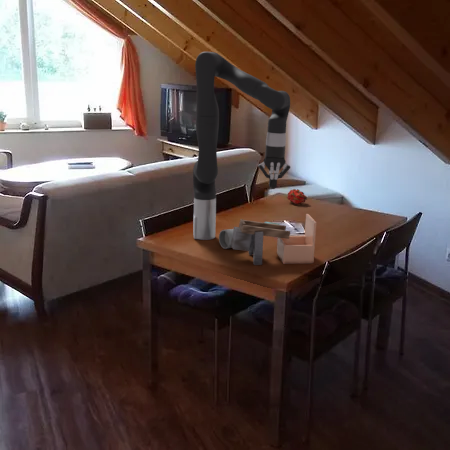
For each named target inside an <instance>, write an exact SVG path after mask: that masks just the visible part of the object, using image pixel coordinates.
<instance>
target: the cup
mask: <svg viewBox="0 0 450 450" xmlns="http://www.w3.org/2000/svg"><path fill="white" fill-rule="evenodd" d="M316 233H317V221H315V219H314V218H313V217H312V216H311V215H310V214H309V213H306V214H305V226H304V235H290V236H289V239H285V238H278V237H277V243H276V254H277V256H278V258H279V259H280V261H281V263H282V264H283V265H284V264H286V265H287V264H289V265H291V264H292V265H293V264H314V261H315V260H314V259H315V246H316V236H317V235H316Z"/></svg>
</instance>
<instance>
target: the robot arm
mask: <svg viewBox="0 0 450 450" xmlns="http://www.w3.org/2000/svg"><path fill="white" fill-rule="evenodd" d="M194 68H195V70H194V71H195V80H196V103H195V104H196V109H195V110H196V111H195V130H196V131H195V132H196V139H197V145H198V155H197V160H196V161H195V163H194V165H193V169H192V183H193V186H192V189H193V216H192V217H193V219H192V220H193V221H192V224H193V225H192V226H193V227H192V228H193V229H192V230H193V232H192V233H193V235H192V236H193V239H194V240H202V241H208V240H213V239H215V238H216V225H217V223H216V219H217V217H216V216H217V191H216V179H217V177H218V174H219V173H218V172H219V170H218V155H217V148H218V147H217V146H218V141H219V140H218V138H219V127H220V108H219V104H218V102H217V101H218V100H217V98H216V94H215V77H217V78H220V79H222V80H224V81H227V82H229V83H230V84H232V85H233V86H234V87H236V88H237V89H238V90H240V92H242V93H244V94H246V95H248V97H249V96H250V97H251V98H252V99H255V100H257V101H259V102H260V103H261V104H263V105H264V106H265V107H267V108H269V109H270V110H272V111H271V115H270V117H269V118H268V120H267V121H268V122H267V131H266V132H267V133H266V137H265V138H266V139H265V152H264V153H265V154H264V159H263V162H261V163H258V164H257V166H258V168H259V170H261V172H262V174H263V175H264V177H265V178H267V179H268V186H269V189H271V190H275V189H276V188H277V187H278V186H277V185H278V179H282V178H283V177H284V176H285V175H286V174H287V172H288V171H289V170H290V169H291V166H290V165H289V164H288V163H286V158H285V157H286V145H287V120H288V117H289V112H290V108H291V97H290V94H289V93H288V92H287V91H284V90H276V89H274V88H273V87H270V86H269V84H268V83H266V82H265V81H264V80H261V79H259V78H258V77H255V76H253V75H251V74H250V73H247V72H245V71H244V70H241V69H240V68H239V67H236V66H235V65H233V64H232V63H231V62H230V61H228V60H227V59H225V58H224V57H223V56H222V55H220V54H219V53H217V52H214V51H202V52H200V53H199V54H198V55H197V56H196V60H195V66H194ZM265 166H266V167H265ZM265 168H266V169H268V171H266V169H265ZM282 168H283V169H282ZM281 169H282V170H281ZM280 170H281V171H280Z"/></svg>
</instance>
